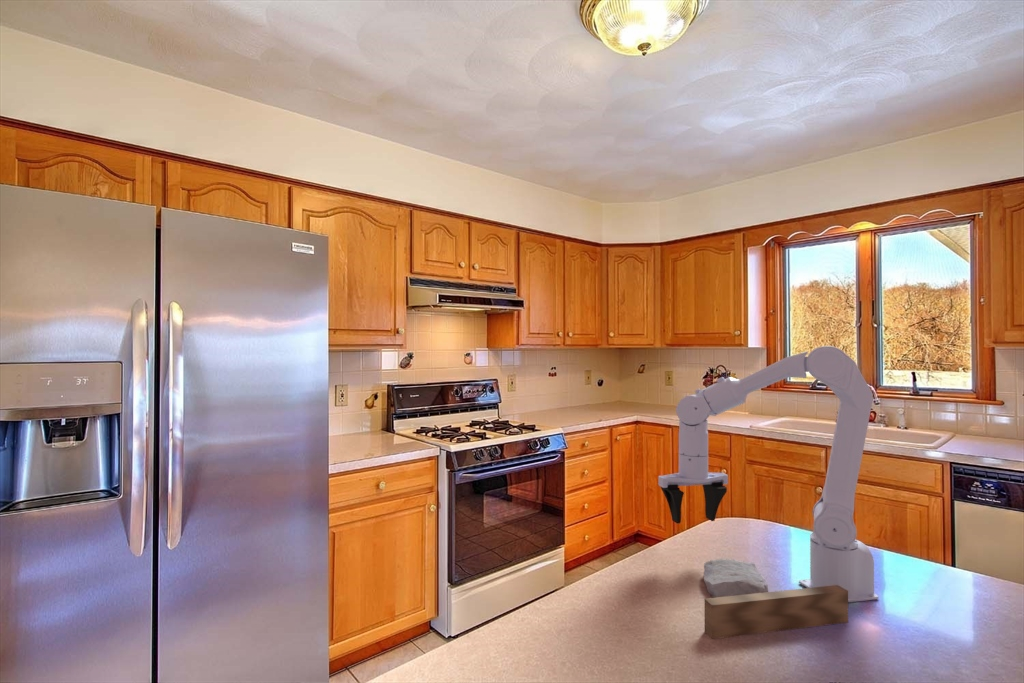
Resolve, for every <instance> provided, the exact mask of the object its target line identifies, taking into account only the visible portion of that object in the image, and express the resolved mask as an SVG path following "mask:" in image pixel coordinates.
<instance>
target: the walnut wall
mask: <svg viewBox="0 0 1024 683" xmlns="http://www.w3.org/2000/svg"><path fill="white" fill-rule="evenodd" d="M846 623H849V602H848V591H847V590H846V589H844V588H842V587H840V586H838V585H833V586H823V587H814V588H806V587H803V588H796V589H787V590H777V591H776V590H775V591H768V592H765V593H755V594H745V595H736V596H726V597H716V598H714V597H709V598H708V597H706V598H704V633H706V634H707V635H708V636H709V637H710V638H711V639H713V640H715V639H721V638H723V639H724V638H727V637H728V638H730V637H738V636H747V635H755V634H764V633H772V632H780V631H781V632H782V631H788V630H789V631H790V630H798V629H806V628H814V627H823V626H829V625H838V624H846Z"/></svg>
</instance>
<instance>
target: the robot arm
mask: <svg viewBox="0 0 1024 683" xmlns="http://www.w3.org/2000/svg"><path fill="white" fill-rule="evenodd" d="M808 353H809V351H808V350H807V351H804V352H800V353H797V354H793V355H790V356H786V357H784V358H782V359H780V360H778V361H776V362H774V363H772V364H770V365H768V366H766V367H764V368H762V369H759V370H758V371H755V372H753V373H752V374H749V375H746V376H745V377H743V378H741V379H739V378H735V377H732V376H728V377H727V378H725V377H723V376H722V377H721V376H720V377H719V378H717V379H716V382H715V383H713V384H711V385H709V386H706V387H705V388H703V389H701V388H697V389H694V392H695V394H689V395H685V396H684V397H683V398H682V399H680V400H679V401H678V403H677V405H676V406H675V407H676V408H675V410H676V417H677V418H678V419H679V420H678V425H679V430H678V472H675V473H671V474H665V475H658V481H657V482H658V484H657V485H658V486H659V487H660V489H661V491H662V493H663V495H664V497H665V499H666V501H667V505H668V507H669V512H670V516H671V520H672V522H674V523H676V524H681V522H682V503H683V499H684V498H683V497H684V494H685V492H684V491H682V490H680V487H683V486H700V485H701V486H702V488H703V492H704V494H703V495H704V504H705V505H704V506H705V507H704V508H705V509H704V511H705V513H704V514H705V518H706V519H707V520H709V521H711V522H715V520H716V516H717V512H718V509H719V506H720V504H721V502H722V500H723V498H724V496H725V495H726V494H727V492H728V488H727V486H725V485H728V484H729V475H728V474H726V473H724V472H709V430H708V418H709V417H710V416H713V417H716V416H718V415H720V414H722V413H724V412H727V411H729V410H730V411H731V409H734V408H736V407H738V406H741V405H743V404H745V403H746V400H747V397H748V395H749V394H750V393H753V392H756V391H758V390H761V389H763V388H766V387H768V386H770V385H772V384H776V383H778V382H780V381H782V380H783V381H784V380H785V379H788V378H797V379H798V378H799V379H800V378H801V379H807V372H808V373H809V374H810V376H812V377H813V378H814V379H816V380H817V381H819V382H821V383H822V384H823V385H826V386H827V387H828V388H829V390H830V391H831V392H832V393H834V395H835V396H836V397H837V398H838V399H839V406H838V411H837V416H836V422H835V425H834V426H835V427H834V432H833V438H832V443H831V448H830V454H829V455H830V456H829V459H828V460H829V461H828V465H827V470H826V474H825V475H826V476H825V481H824V484H823V488H822V491H821V497H820V498H819V500H817V502H815V504H814V505H813V508H812V516H813V525H812V526H813V527H812V528H813V532H811V533H810V536H809V537H810V538H809V540H810V544H809V545H810V546H809V547H810V549H809V550H810V551H809V554H810V555H809V556H810V558H809V559H810V561H809V562H810V564H809V566H810V567H809V568H810V573H809V574H810V578H808V579H799V580H798V584H800V585H802V586H803V587H804V588H814V587H823V586H833V585H838V586H840V587H842V588H844V589H846V590H847V591H848V603H854V602H861V601H863V602H864V601H870V600H871V601H873V600H878V599H879V595H878V594H876V593H875V560H874V557H873V554H872V551H871V550H870V548H869V547H868V546H867V545H866V544H865V543H863V542H862V541H860V540H858V539H857V535H858V534H857V533H858V531H857V526H856V524H855V521H854V512H855V502H856V501H855V500H856V499H855V498H856V489H857V485H858V480H859V475H860V469H861V463H862V458H863V453H864V448H865V443H866V437H867V433H868V427H869V423H870V415H871V410H872V406H873V401H874V394H873V392H872V390H871V388H870V386H869V385H868V383H867V381H866V379H865V378H864V376H863V375H862V373H861V371H860V369H859V367H858V365H857V363H856V361H855V360H854V359H853V358H851V357H850V355H848V354H847V353H845V352H844V351H843V350H842V349H840V348H839V347H836V346H832V345H823V346H818V347H816V348H814V349H813V350H811V351H810V353H809V354H808Z"/></svg>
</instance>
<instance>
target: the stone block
mask: <svg viewBox="0 0 1024 683" xmlns="http://www.w3.org/2000/svg"><path fill="white" fill-rule="evenodd" d="M703 570H704V571H703V581H704V582H705V583H704V584H705V587H706V591H707V592H708V593H709V594H710V596H711V597H712V598H716V597H726V596H736V595H745V594H755V593H765V592H769V588H768V583H767V582H766V579H765V577H764V576H763V575H762V574H761V573H759V571H758V570H757V566H756V564H755V563H754V562H746V561H741V560H736V559H733V558H731V559H730V558H718V559H711V560H710V559H709V561H706V562H705V563H704V564H703Z"/></svg>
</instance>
